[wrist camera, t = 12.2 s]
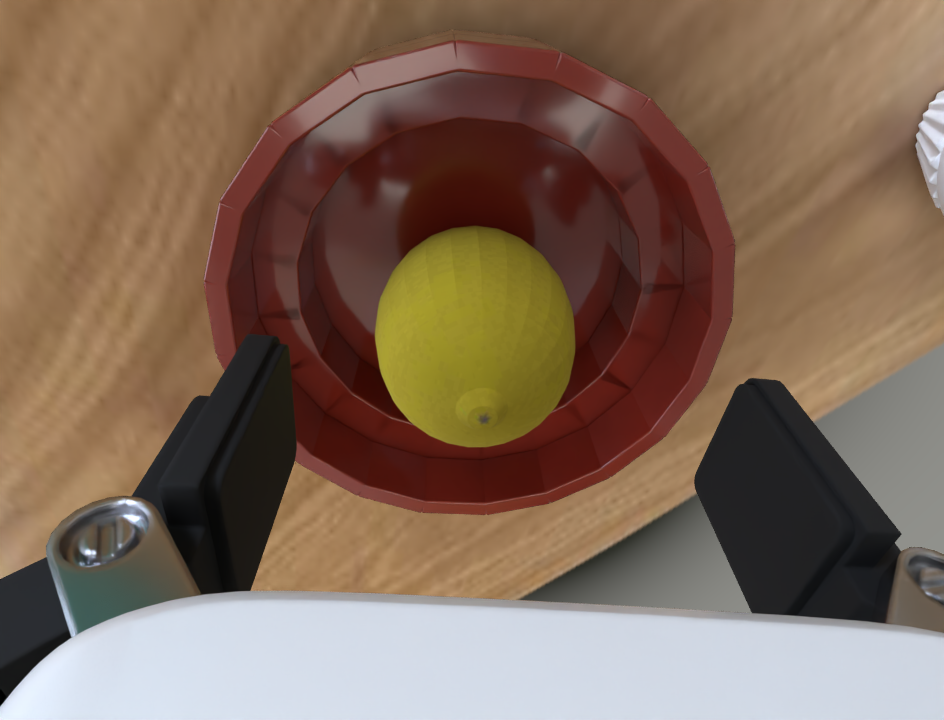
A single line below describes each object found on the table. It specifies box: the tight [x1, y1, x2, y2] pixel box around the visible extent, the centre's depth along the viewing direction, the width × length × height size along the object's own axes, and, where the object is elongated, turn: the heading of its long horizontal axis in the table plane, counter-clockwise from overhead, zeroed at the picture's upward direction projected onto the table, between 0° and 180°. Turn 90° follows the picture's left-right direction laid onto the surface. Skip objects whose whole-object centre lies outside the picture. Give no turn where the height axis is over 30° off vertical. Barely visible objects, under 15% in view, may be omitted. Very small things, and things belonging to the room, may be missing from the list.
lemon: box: [375, 226, 575, 447], centre depth 16 cm, size 6×6×8 cm
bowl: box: [204, 29, 735, 515], centre depth 18 cm, size 14×14×5 cm
